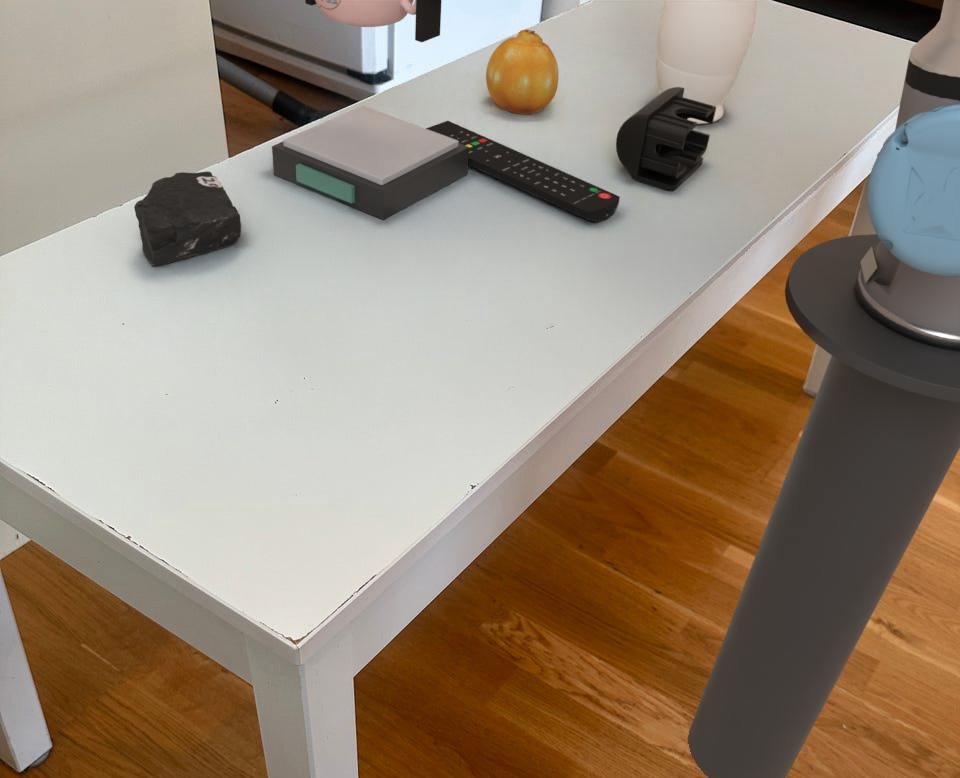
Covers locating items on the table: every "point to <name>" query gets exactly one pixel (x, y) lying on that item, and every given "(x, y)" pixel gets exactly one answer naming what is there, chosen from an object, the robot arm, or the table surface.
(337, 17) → the mug
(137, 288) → the table surface
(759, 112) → the table surface
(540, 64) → the fruit
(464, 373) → the table surface
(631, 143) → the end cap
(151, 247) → the rock
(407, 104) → the table surface
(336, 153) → the scale
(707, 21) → the jar
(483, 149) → the remote control
